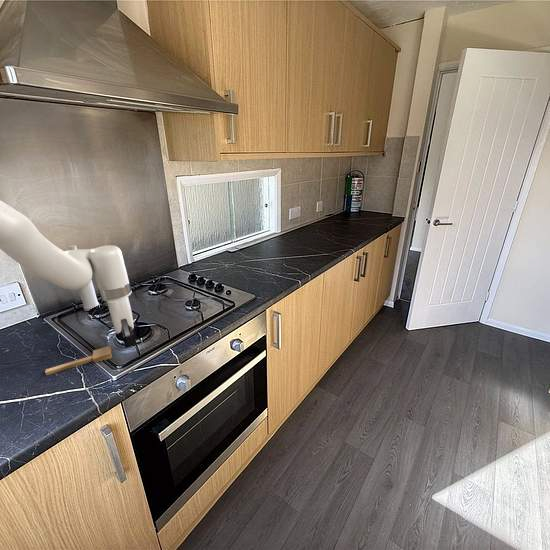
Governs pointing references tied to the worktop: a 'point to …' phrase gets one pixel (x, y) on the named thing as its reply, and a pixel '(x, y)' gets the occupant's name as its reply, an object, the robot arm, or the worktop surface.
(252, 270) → the worktop surface
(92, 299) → the bottle
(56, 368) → the wooden spatula
